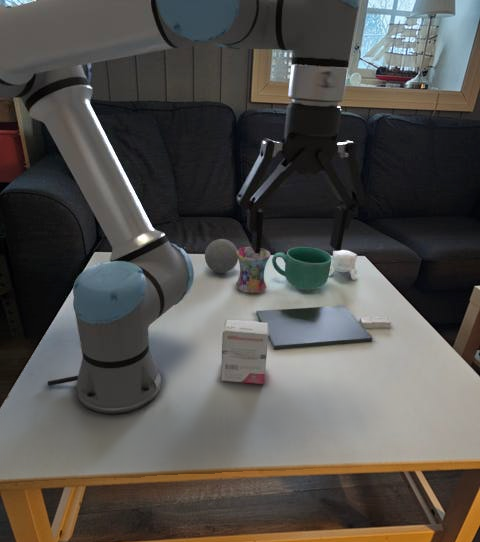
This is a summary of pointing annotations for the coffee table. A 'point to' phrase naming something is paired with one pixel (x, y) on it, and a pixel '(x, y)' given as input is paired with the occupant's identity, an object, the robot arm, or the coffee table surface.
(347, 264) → the white figurine
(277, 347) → the slate board
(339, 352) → the coffee table surface
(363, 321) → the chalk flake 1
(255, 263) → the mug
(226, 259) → the decorative ball
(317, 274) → the mug
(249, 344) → the ink box
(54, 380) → the robot arm
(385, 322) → the chalk flake
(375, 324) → the chalk flake
